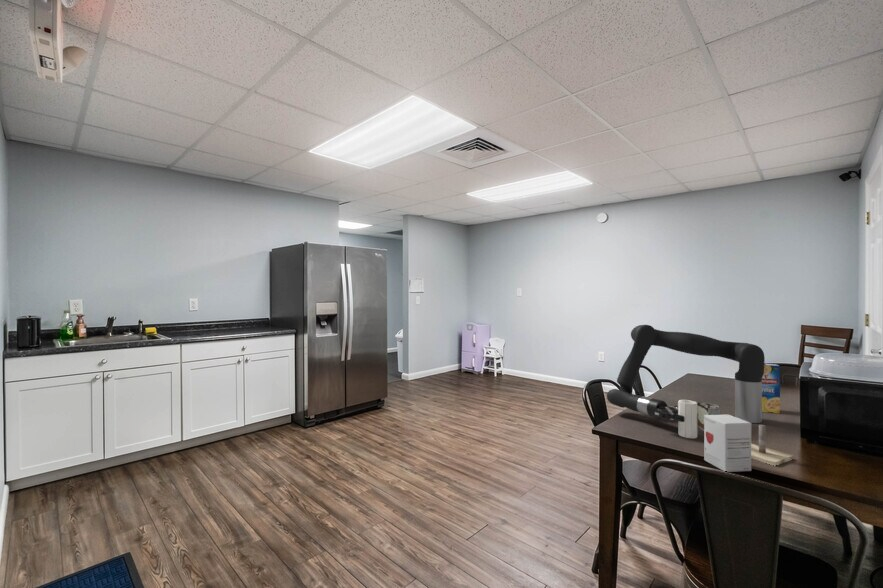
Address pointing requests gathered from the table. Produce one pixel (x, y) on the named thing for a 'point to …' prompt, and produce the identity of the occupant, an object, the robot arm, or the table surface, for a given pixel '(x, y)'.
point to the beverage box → (771, 388)
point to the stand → (767, 451)
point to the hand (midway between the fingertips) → (690, 417)
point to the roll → (687, 418)
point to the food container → (705, 411)
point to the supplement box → (727, 442)
